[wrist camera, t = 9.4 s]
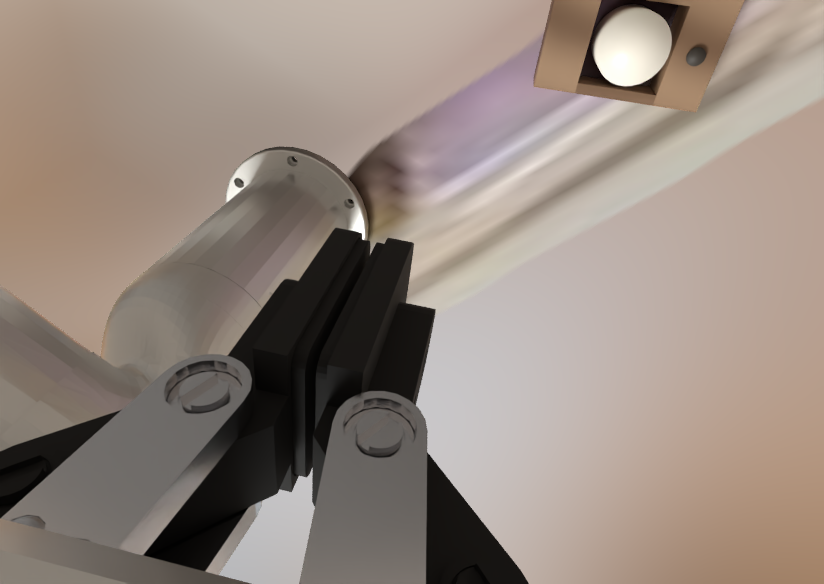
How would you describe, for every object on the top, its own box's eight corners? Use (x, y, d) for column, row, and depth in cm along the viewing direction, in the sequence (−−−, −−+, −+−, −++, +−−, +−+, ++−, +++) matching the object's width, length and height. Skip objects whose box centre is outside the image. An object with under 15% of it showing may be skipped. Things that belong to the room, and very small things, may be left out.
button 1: (645, 79, 32) (655, 91, 30) (583, 69, 33) (587, 80, 30) (671, 9, 30) (683, 15, 27) (603, -1, 30) (609, 5, 28)
